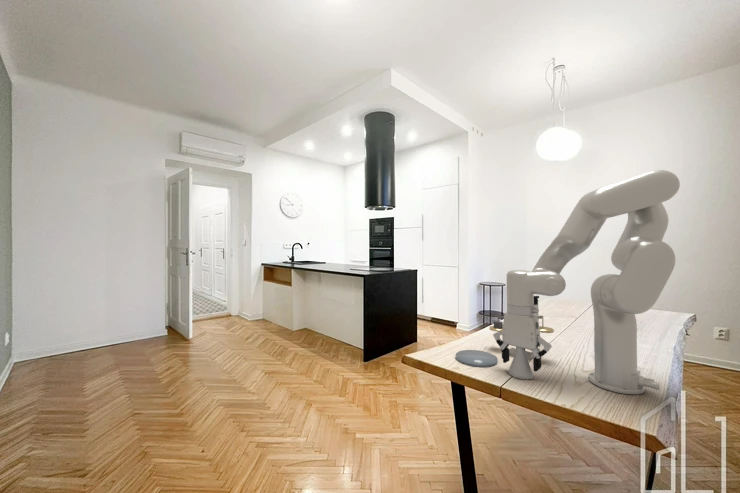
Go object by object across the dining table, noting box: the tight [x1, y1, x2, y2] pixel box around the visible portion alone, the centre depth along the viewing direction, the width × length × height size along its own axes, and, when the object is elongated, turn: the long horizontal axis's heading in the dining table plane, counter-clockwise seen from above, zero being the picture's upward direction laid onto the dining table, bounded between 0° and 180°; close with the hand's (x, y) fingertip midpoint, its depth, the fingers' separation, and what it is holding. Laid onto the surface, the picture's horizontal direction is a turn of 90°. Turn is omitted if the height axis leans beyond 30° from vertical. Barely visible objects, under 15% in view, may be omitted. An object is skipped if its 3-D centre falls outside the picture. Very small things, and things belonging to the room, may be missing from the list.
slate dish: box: [455, 349, 499, 368], centre depth 106 cm, size 14×14×1 cm
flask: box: [508, 347, 535, 380], centre depth 92 cm, size 7×7×10 cm
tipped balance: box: [488, 315, 555, 361], centre depth 109 cm, size 22×6×16 cm, turn 42°
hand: (520, 365), depth 92 cm, fingers open, 8 cm apart
